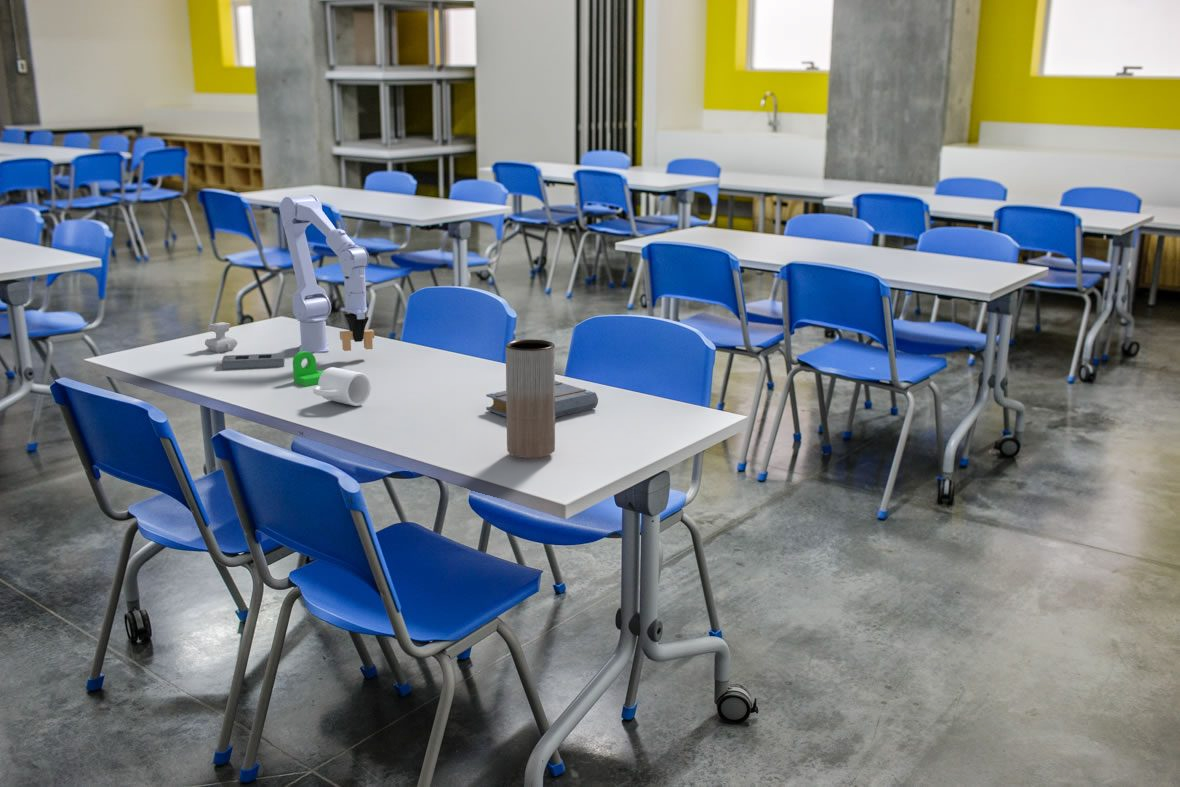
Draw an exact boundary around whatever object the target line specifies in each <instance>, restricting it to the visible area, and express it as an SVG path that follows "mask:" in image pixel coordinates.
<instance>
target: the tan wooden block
mask: <svg viewBox="0 0 1180 787" xmlns="http://www.w3.org/2000/svg"><path fill="white" fill-rule="evenodd" d="M339 339H340V340H341V342H342V345H341V346H342V350H343V351H344V352H349V351H350V352H351V351H352V345H351V344H352V341H354V338H353V333H352V331H350V330H344V331H343V330H342V331H339ZM373 339H375V330H374V329H373V328H372V329H365V330H364V336H363V348H364V349H365V350H373V349H374V348H373V347H374V346H373Z"/></svg>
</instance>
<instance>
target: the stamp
mask: <svg viewBox="0 0 1180 787" xmlns="http://www.w3.org/2000/svg"><path fill="white" fill-rule="evenodd" d="M230 329H231V323H228V322H224V321H222V322H215V323H210V324H209V330H210V331H211V332H212V333H215V337H212V338H206V339H205V341H204V345H205V347H206V348H208V350H210V351H212V352H215V351H216V352H215V353H218V352H219V353H224V351H225V352H229V350H230V351H233V350H234V349H235V348H237V347H236V346H238V341H237V340H236V339H235V338H233V337H228V336H226V333H228V332H229V331H230Z"/></svg>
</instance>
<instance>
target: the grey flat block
mask: <svg viewBox="0 0 1180 787" xmlns="http://www.w3.org/2000/svg"><path fill="white" fill-rule="evenodd" d="M285 360H286V358H285V352H282V353H281V352H280V353H278V352H277V353H258V354H255V353H254V354H233V355H232V354H230V355H227V354H226V355H223V357H222V360H221V366H222V367H221V368H222V370H223V371H224V370H225V371H227V370H228V371H229V370H245V369H248V370H249V369H264V368H265V369H266V368H279V367H280V368H283V367H285Z"/></svg>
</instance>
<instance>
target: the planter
mask: <svg viewBox="0 0 1180 787" xmlns="http://www.w3.org/2000/svg"><path fill="white" fill-rule="evenodd" d="M555 381H556V345H555V343H554V342H552V341H549V340H543V339H518V340H513V341H510V342H508V343H506V345H505V387H506V388H505V389H506V390H505V391H506V411H507V417H506V450H507V452H508V453H509V454H510V455H512V456H515V457H519V458H526V459H527V458H529V459H530V458H542V457H547V456H550V455H551V454H553V453H554V452H555V449H556V417H555Z"/></svg>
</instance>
